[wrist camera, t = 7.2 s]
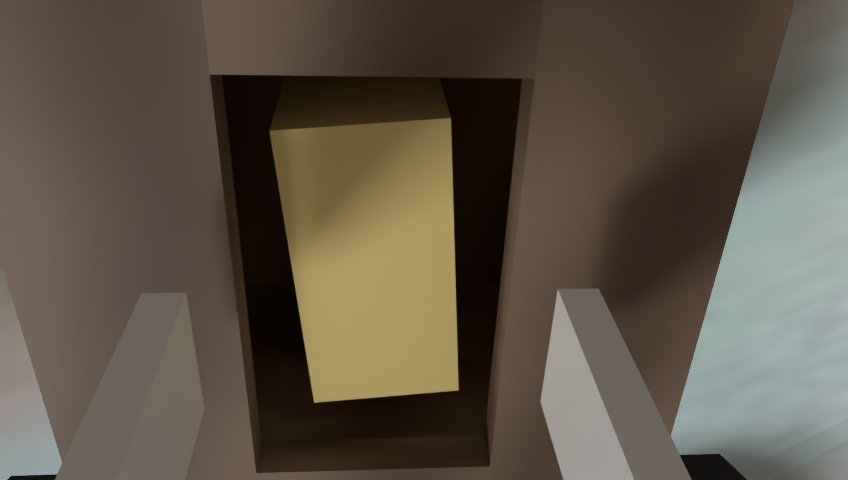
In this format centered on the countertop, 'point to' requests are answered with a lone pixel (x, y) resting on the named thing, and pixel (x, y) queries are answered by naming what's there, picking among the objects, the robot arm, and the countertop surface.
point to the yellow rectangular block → (370, 231)
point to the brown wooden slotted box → (472, 200)
